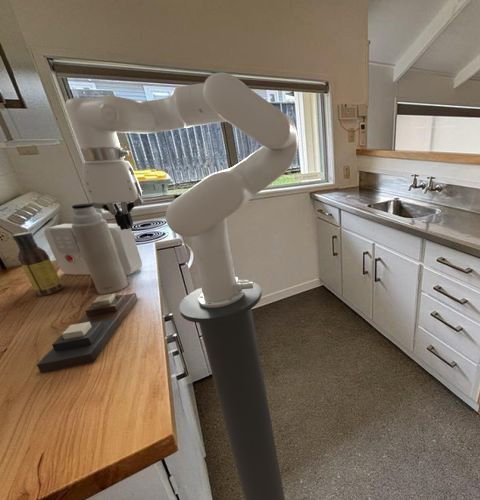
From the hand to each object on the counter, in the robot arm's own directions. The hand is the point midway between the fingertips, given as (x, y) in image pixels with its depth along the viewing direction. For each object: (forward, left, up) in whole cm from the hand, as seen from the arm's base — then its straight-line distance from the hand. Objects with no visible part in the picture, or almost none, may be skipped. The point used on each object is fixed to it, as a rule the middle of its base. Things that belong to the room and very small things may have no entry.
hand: (126, 228), depth 75 cm
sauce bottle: (+34, -21, -23) cm, 46 cm away
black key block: (+9, +17, -23) cm, 30 cm away
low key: (+9, +3, -19) cm, 22 cm away
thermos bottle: (+15, -16, -23) cm, 32 cm away
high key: (+9, +17, -19) cm, 27 cm away
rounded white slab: (+24, -33, -23) cm, 47 cm away
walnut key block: (+9, +3, -23) cm, 25 cm away
